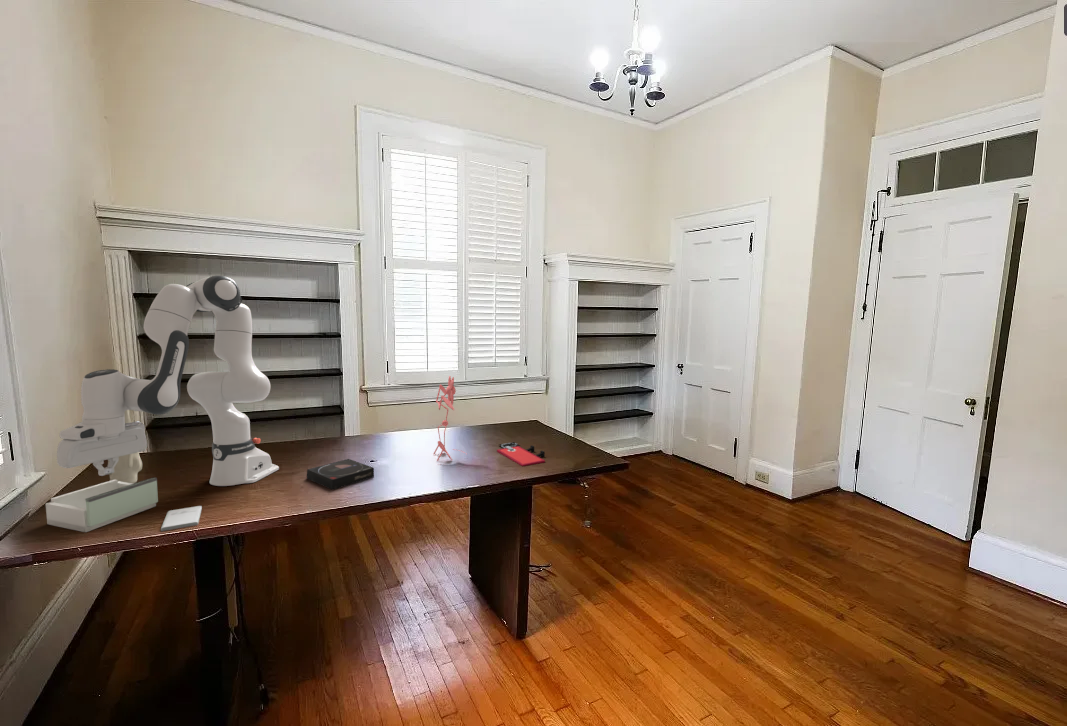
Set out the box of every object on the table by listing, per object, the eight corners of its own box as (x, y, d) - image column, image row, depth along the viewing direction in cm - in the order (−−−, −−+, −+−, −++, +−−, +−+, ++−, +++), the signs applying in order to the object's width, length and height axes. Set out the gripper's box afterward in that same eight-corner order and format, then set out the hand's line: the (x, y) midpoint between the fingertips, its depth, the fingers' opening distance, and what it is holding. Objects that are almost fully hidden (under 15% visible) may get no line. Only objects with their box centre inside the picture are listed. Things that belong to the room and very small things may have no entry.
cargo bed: (120, 499, 144) (119, 478, 143) (156, 506, 140) (154, 484, 140) (47, 524, 127) (45, 500, 126) (85, 532, 123) (83, 507, 122)
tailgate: (155, 501, 140) (153, 477, 139) (158, 501, 139) (156, 477, 139) (87, 525, 123) (85, 498, 122) (91, 526, 123) (88, 499, 122)
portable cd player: (347, 468, 180) (347, 458, 180) (373, 478, 170) (373, 467, 170) (306, 479, 167) (306, 469, 166) (332, 491, 157) (332, 479, 157)
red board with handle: (517, 443, 220) (489, 448, 212) (517, 437, 220) (489, 442, 212) (552, 462, 195) (522, 468, 187) (552, 455, 195) (522, 461, 187)
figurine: (438, 467, 182) (441, 380, 179) (428, 449, 206) (430, 372, 203) (475, 464, 188) (479, 380, 185) (462, 447, 212) (464, 372, 208)
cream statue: (116, 480, 159) (110, 396, 156) (146, 477, 163) (141, 395, 160) (104, 489, 152) (97, 400, 148) (136, 486, 155) (130, 399, 152)
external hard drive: (161, 533, 125) (168, 515, 135) (198, 526, 129) (202, 510, 140) (160, 527, 125) (167, 510, 135) (197, 521, 129) (201, 505, 140)
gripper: (136, 419, 141) (138, 463, 142) (51, 433, 121) (54, 484, 122) (151, 420, 139) (153, 465, 140) (67, 435, 119) (70, 487, 120)
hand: (106, 474), depth 131 cm, fingers closed
